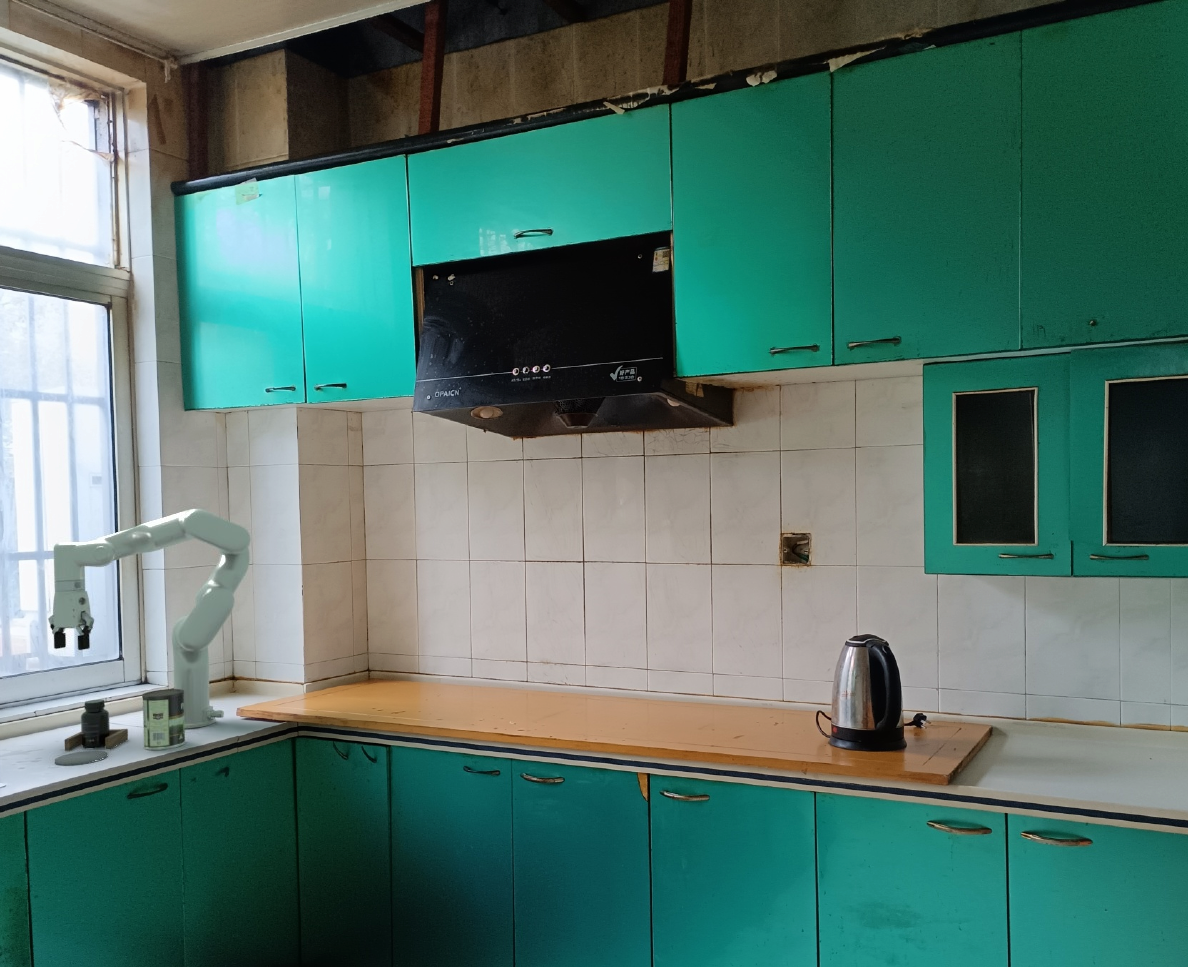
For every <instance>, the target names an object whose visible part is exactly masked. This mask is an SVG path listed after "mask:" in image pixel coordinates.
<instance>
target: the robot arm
mask: <svg viewBox="0 0 1188 967" xmlns="http://www.w3.org/2000/svg"><path fill="white" fill-rule="evenodd" d="M194 539H196V540H198V541H200V542H202V543H204V544H206V545H209V546H211V547H213V548H216V549H218V550H219V560H218V562H217V564H216V566H215V567H214V569H213V571H212V573H211V574H210V575H209V577H208V579H207V580H206V581H205V582H204V584H203V586H202V587H201V588H200V589H199V591H198V592H197V593H196V595H195V605H194V607H193V608H192V610H191V611H190V613H189V614H188V615H183V616H182V617H180V618H179V619H177V620H176V621H175V623H174V625H173V627H172V630H171V645H172V657H173V689H181V690H184V729H196V728H203V727H206V726H211V725H213V724H215V723H216V721H217V719H222V718H224V717H225V712H224V711H223V710H215V709H214V706H213V705H210V704H211V703H210V657H209V646H210V644H211V643H212V642H213V641H214V639H215V638H216V636H217V635H218V633H219V632H220V630H221V629H222V627H224V626H223V625H224V624H225V623H226V621H227V620H228V618H229V617H230V615H231V614H232V611H233V609H234V607H235V595H234V594H235V592H236V591H237V590H238V588H239V586H240V585H241V583H242V581H243V580H244V578H245V576H246V574H247V571H248V570H249V566H250V550H249V548H250V547H249V546H250V545H251V535H250V532H249V531H248V529H246V527H244V526H242V525H240V524H237V523H234V522H232V521H230V520H228V519H225V518H223V517H220V516H218V515H216V514H214V513H211V512H209V511H208V510H205V509H203V508H191V509H186V510H183V511H180V512H177V513H173V514H171V515H167V516H165V517H161V518H158V519H155V520H151V521H148V522H144V523H142V524H138V525H137V526H133V527H132V528H129V529H128V528H127V529H126V530H122V531H118V532H115V533H113V534H109V535H106V536H102V537H99V538H95V539H93V540H90V541H87V542H80V541H65V542H64V541H63V542H62V541H61V542H58V543H55V544H54V545H53V573H54V575H53V576H54V577H53V578H54V579H53V580H54V597H53V606H52V615H51V616H49V617H48V618H47V619H48V623H49V625H50V626H49V627H50V629H51V631H52V632H51V633H52V635H53V648H54V649H55V650H57V649H65V648H67V647H66V646H67V640H66V639H67V638H66V636H67V634H66V632H65V630H66V629H76V631H77V632H78V635H77V650H78V651H83V650H89V649H90V647H91V642H90V635H91V633H92V630H93V628H94V623H95V619H94V617H92V614H91V606H90V605H91V603H90V598H89V594H88V591H87V590H86V570H85V569H86V568H85V567H91V568H92V567H94V568H103V567H107V566H108V565H111V563H113V562H115V561H118V560H121V559H125V558H127V557H131V556H134V555H138V554H144V553H145V554H146V553H152V552H156V551H161V550H163V549H167V548H169V547H173V546H176V545H179V544H181V543H184V542H187V541H191V540H194Z"/></svg>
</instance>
